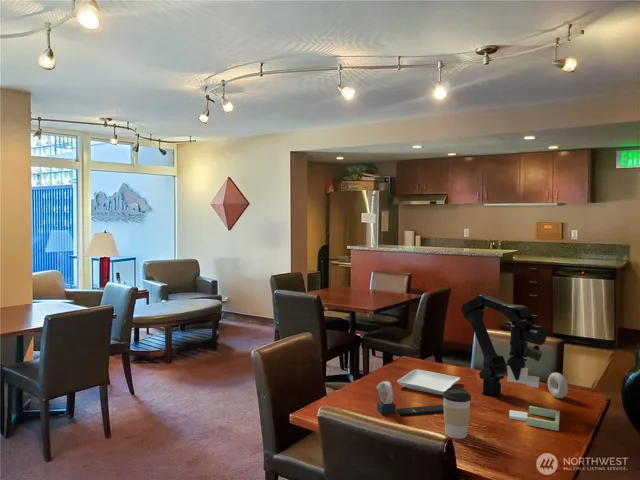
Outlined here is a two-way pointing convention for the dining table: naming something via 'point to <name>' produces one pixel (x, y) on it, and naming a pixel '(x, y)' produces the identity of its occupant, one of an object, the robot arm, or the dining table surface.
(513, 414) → the tile
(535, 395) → the dining table surface
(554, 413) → the green c-shaped block
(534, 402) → the dining table surface
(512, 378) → the scraper
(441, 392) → the salad plate
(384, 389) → the abstract loop sculpture
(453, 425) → the coffee cup
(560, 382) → the donut
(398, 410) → the remote control
